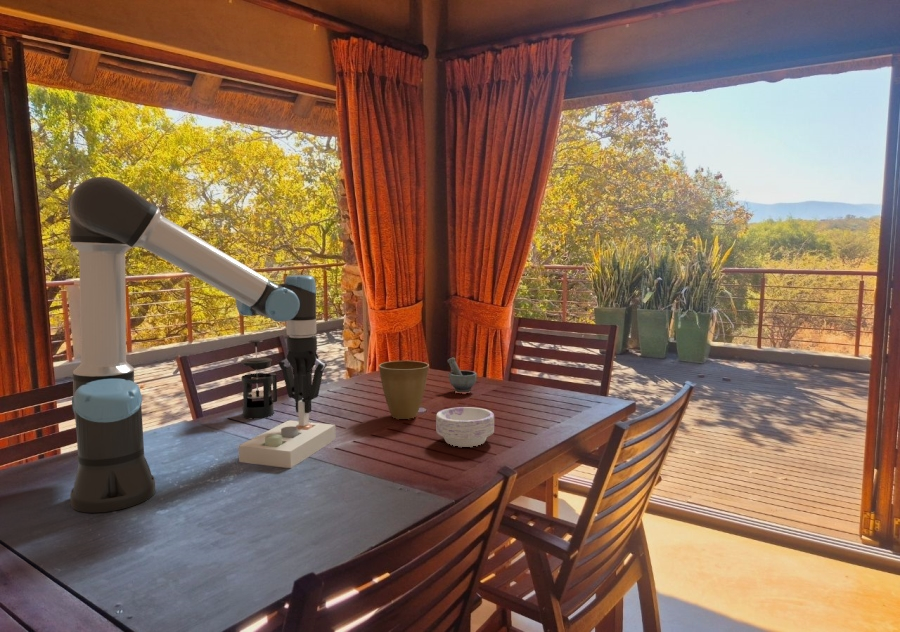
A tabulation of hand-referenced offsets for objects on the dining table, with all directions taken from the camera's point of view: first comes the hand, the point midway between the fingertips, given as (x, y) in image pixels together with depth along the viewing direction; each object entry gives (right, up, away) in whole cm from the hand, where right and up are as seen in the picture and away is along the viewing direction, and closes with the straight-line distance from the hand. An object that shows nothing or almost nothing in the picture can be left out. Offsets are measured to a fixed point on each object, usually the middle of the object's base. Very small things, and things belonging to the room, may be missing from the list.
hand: (303, 424), depth 158 cm
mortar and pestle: (+42, +1, +55) cm, 70 cm away
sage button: (-4, -5, -13) cm, 14 cm away
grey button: (-2, -4, -6) cm, 8 cm away
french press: (-20, -2, +26) cm, 33 cm away
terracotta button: (0, -4, 0) cm, 4 cm away
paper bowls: (+42, -5, 0) cm, 43 cm away
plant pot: (+25, -2, +24) cm, 35 cm away
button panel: (-2, -5, -6) cm, 8 cm away
